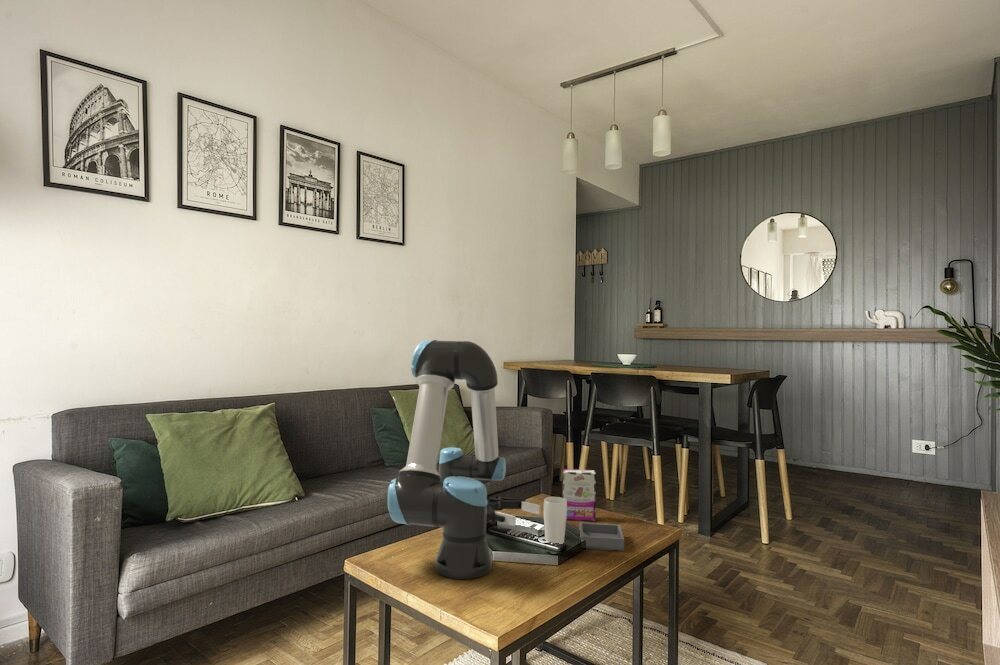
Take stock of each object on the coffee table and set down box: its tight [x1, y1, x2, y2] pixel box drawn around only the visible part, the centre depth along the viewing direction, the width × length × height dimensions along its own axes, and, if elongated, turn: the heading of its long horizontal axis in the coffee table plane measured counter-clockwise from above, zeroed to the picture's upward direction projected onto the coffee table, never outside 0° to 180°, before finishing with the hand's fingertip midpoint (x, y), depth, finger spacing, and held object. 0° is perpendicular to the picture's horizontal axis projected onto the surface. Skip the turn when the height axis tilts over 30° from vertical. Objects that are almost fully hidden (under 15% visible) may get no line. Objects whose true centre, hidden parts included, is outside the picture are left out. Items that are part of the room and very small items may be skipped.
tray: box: [578, 521, 625, 552], centre depth 170 cm, size 13×13×4 cm
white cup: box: [543, 496, 567, 544], centre depth 162 cm, size 7×7×15 cm
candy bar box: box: [562, 468, 597, 522], centre depth 192 cm, size 11×5×16 cm, turn 84°
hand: (527, 515), depth 168 cm, fingers open, 13 cm apart
